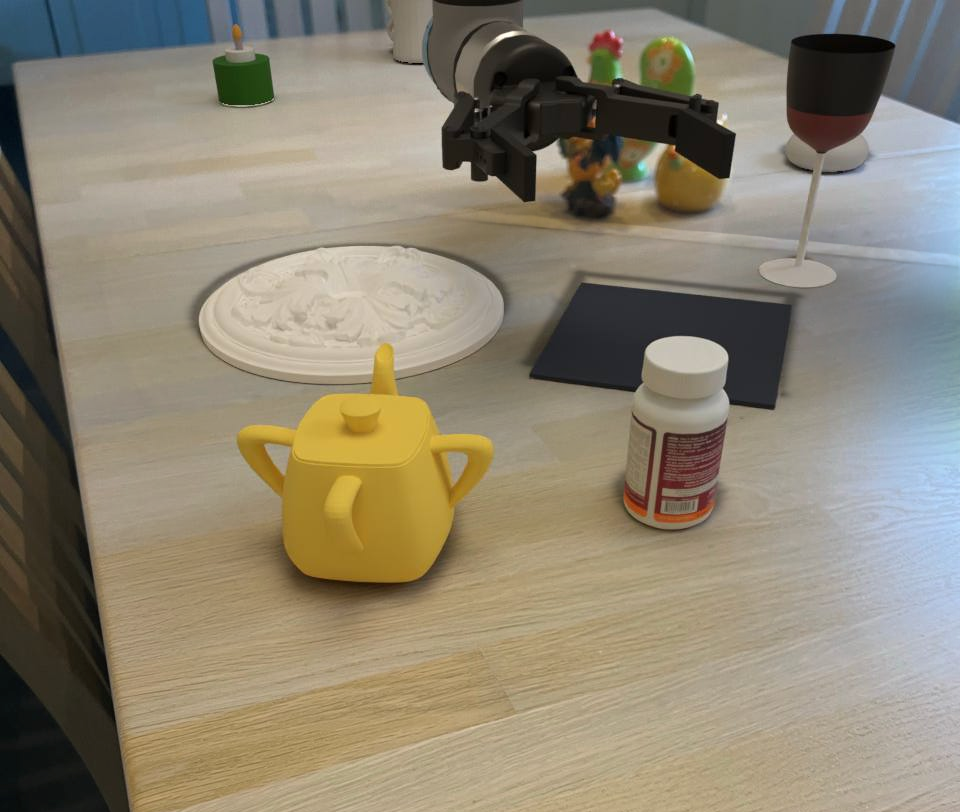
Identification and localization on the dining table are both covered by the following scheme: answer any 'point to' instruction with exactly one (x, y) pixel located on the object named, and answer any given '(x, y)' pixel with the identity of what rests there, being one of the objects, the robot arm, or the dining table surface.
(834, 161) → the donut
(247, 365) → the ceiling medallion
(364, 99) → the dining table surface
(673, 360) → the pill bottle
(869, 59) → the wineglass
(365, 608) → the dining table surface
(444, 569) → the dining table surface
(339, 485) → the teapot
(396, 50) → the mug
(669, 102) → the robot arm
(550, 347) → the mat
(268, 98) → the candle
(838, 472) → the dining table surface
